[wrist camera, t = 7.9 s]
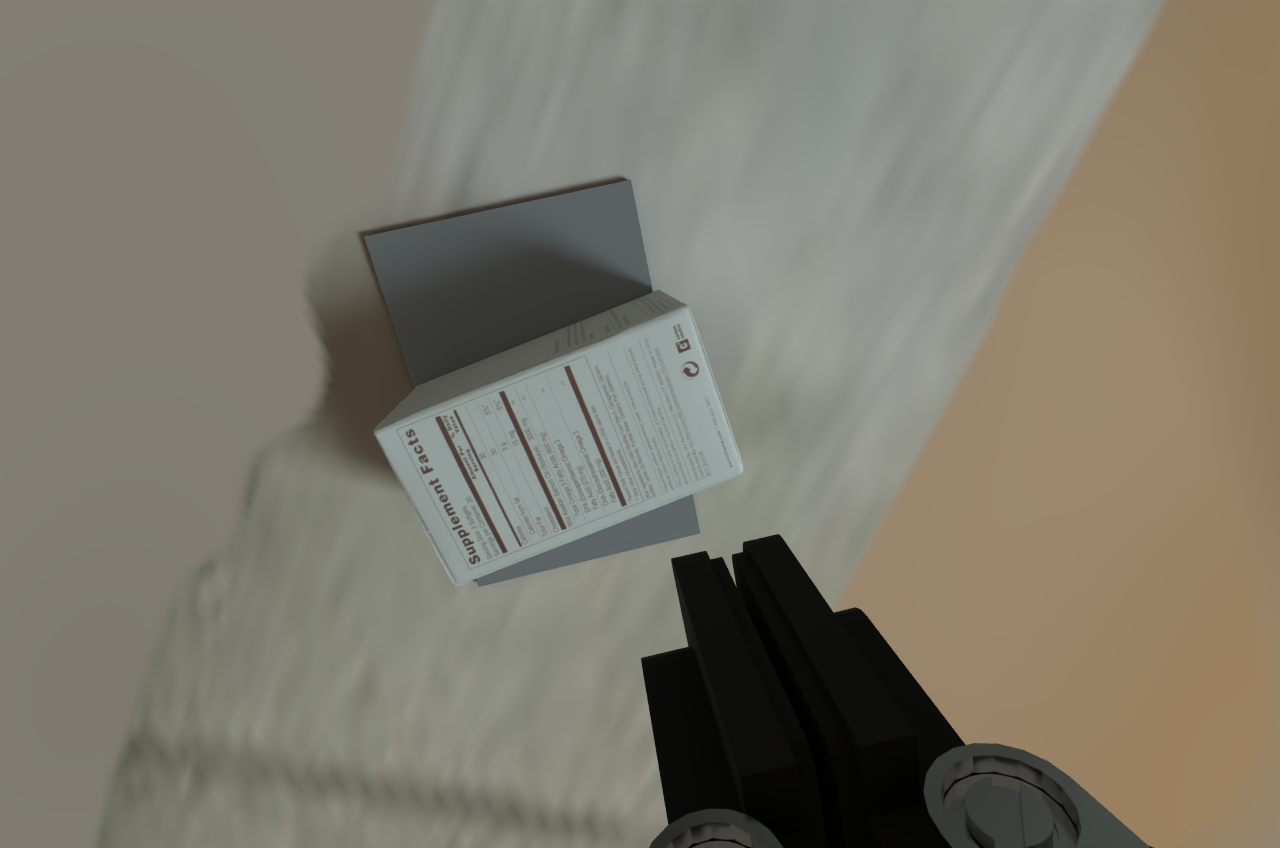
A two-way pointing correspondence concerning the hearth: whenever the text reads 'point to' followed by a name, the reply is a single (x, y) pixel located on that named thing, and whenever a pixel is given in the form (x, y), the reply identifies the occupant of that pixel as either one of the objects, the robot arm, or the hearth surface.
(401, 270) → the mat
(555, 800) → the hearth surface
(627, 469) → the supplement box
